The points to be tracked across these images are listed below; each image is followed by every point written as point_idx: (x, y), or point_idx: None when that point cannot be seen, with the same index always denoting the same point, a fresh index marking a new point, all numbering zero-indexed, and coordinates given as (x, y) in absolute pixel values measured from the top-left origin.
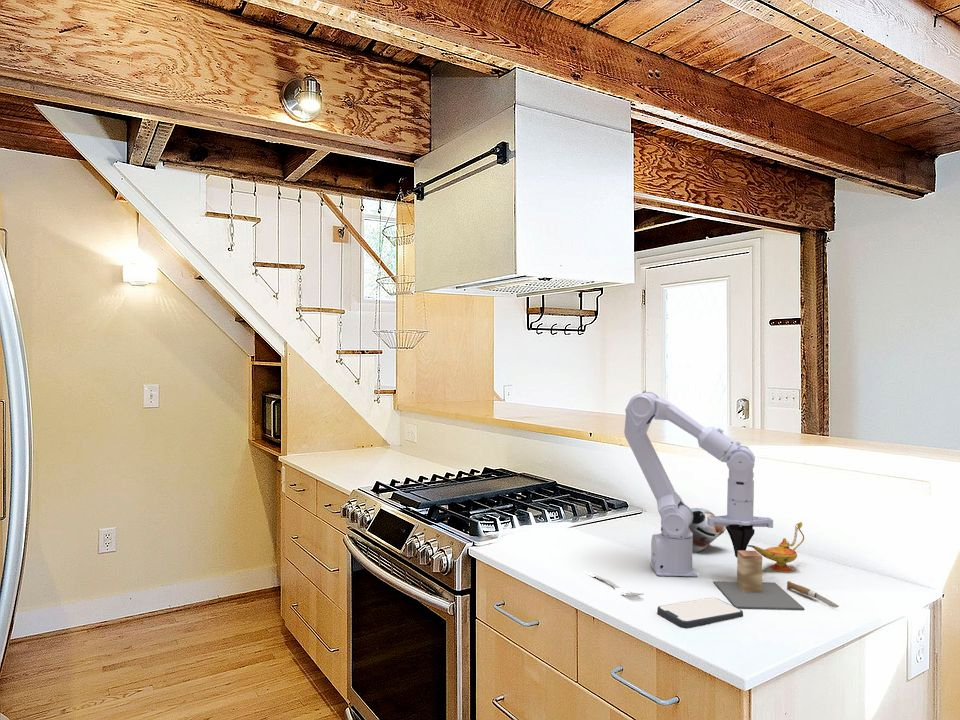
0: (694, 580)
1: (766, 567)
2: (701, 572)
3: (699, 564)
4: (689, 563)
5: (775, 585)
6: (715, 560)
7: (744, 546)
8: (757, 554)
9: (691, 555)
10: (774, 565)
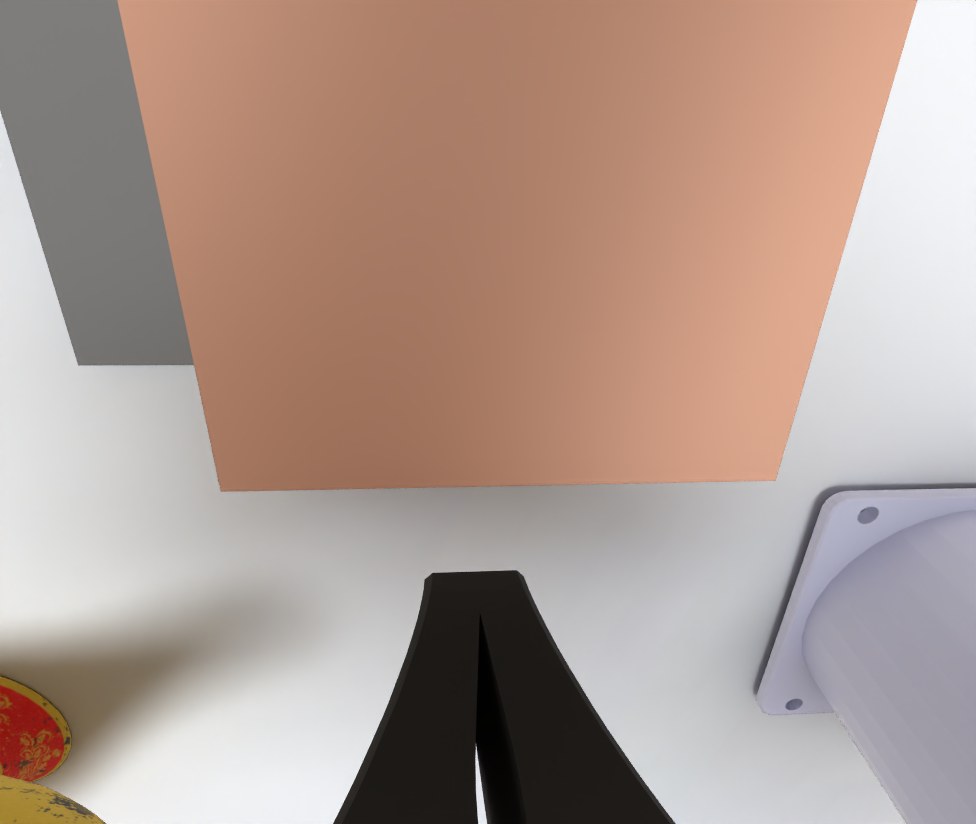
0: (901, 410)
1: (104, 737)
2: (718, 594)
3: (642, 735)
4: (949, 604)
5: (87, 263)
6: (482, 808)
7: (434, 751)
8: (245, 39)
9: (971, 694)
10: (20, 752)
